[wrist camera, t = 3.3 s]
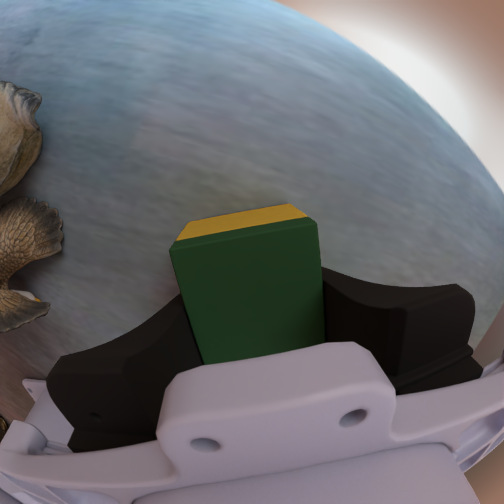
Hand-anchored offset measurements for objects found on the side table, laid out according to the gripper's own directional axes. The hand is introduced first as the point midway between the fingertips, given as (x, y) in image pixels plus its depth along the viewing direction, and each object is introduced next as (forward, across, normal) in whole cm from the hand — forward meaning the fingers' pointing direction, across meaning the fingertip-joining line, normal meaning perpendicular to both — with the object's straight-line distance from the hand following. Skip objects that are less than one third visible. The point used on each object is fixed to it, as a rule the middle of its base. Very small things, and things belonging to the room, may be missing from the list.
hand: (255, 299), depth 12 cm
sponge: (+1, 0, 0) cm, 1 cm away
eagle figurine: (+2, +13, -3) cm, 13 cm away
